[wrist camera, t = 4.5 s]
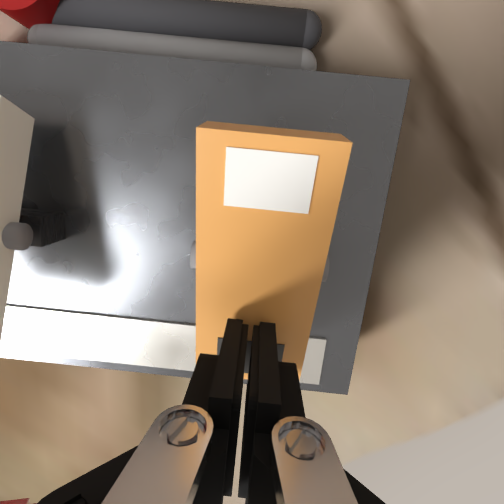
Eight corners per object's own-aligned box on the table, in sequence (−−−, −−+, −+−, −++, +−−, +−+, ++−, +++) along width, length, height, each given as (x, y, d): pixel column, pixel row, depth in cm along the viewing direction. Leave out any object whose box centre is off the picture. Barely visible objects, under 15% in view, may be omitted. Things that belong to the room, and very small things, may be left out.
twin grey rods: (39, -6, 15) (14, -26, 14) (321, 21, 15) (327, 3, 14) (43, 65, 16) (20, 54, 15) (311, 91, 16) (316, 83, 14)
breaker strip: (-19, 64, 16) (-161, 10, 11) (374, 102, 16) (431, 66, 10) (8, 315, 20) (-90, 370, 14) (330, 350, 19) (356, 419, 14)
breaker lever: (196, 118, 10) (179, 125, 8) (352, 133, 10) (368, 144, 8) (196, 338, 14) (185, 373, 12) (304, 349, 14) (308, 387, 12)
